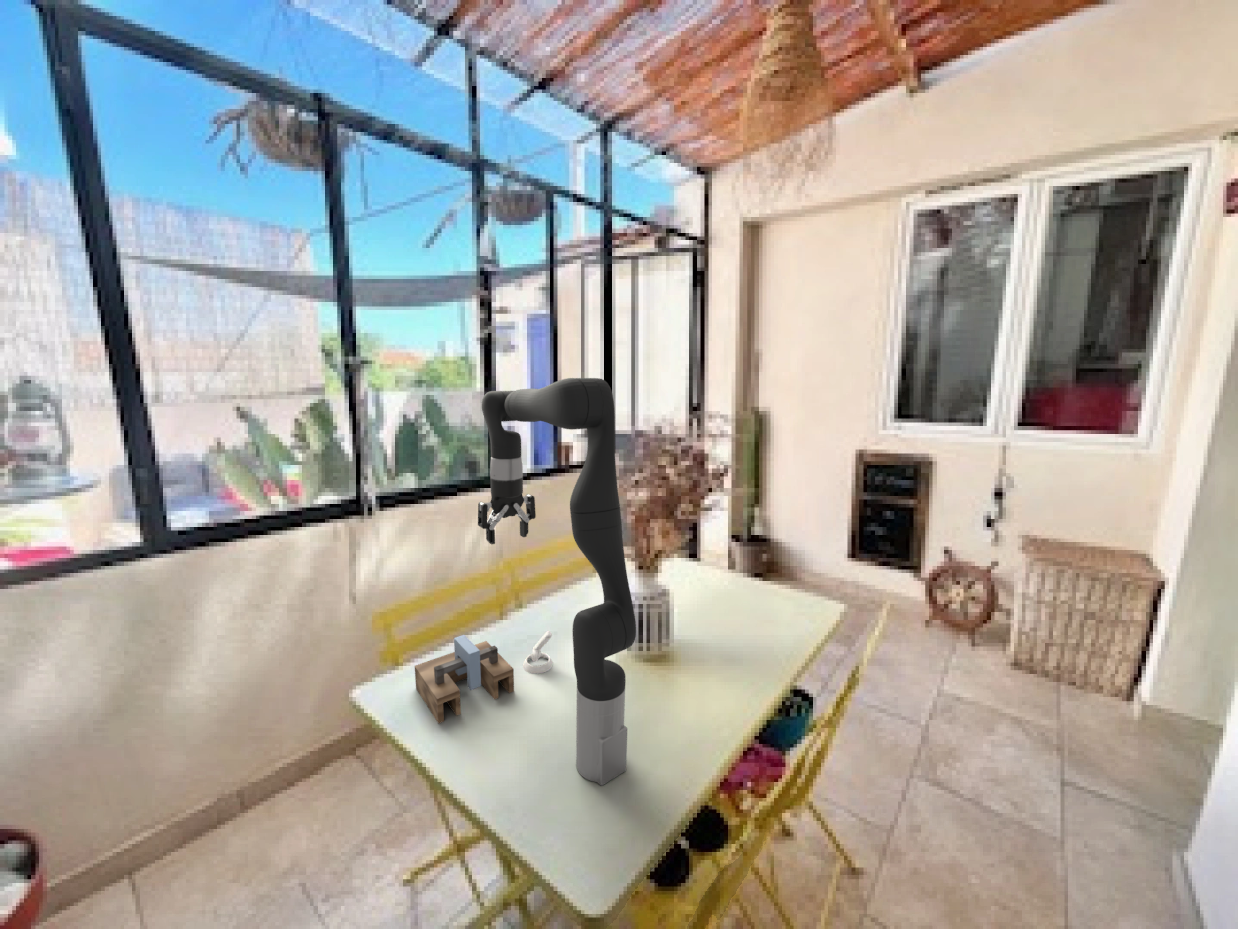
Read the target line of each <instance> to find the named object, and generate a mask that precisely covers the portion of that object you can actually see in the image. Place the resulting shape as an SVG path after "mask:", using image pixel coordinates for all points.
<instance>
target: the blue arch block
mask: <svg viewBox="0 0 1238 929" xmlns="http://www.w3.org/2000/svg"><path fill="white" fill-rule="evenodd" d="M475 645H476V644H475V643H473V641H471V640H470V639H469V638H468V637H467V636H466V635H465V634H462V635H460V636H456V637H453V647H454V649H453V650H454V652H455V659H458V658H461V659H462V660H463V661H464V663H465V664H466V665H467V666H465V667H462V668H460V669H457V670H455V671H456V674H457V675H458V676H459V675H461V674H464V673H466V672H467V678H466V679H467V681H466V682H467V688H468V689H469V690H470V691H472V690H475V689H477V688H480V687H481V686H482V684H481V671H480V650H479V649H478V648H477V647H476V646H475Z"/></svg>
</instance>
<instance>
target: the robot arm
mask: <svg viewBox="0 0 1238 929" xmlns="http://www.w3.org/2000/svg"><path fill="white" fill-rule="evenodd" d="M615 410H616V409H615V402H614V395H613V391H612V389H611V387H610V385H609V383H608V382H607V381H606V380H605V379H603V378H597V377H568V378H563V379H561V380H558V381H554V382H552V383H550V384H549V385H545V386H543V387H541V388H522V389H516V390H491V391H488V392H486V393H485V394H484V395H483V398H482V400H481V412H482V414H483V418H484V420H485V423H486V424H485V425H486V427H487V431H488V435H489V439H490V456H491V457H490V466H489V467H490V468H489V470H490V471H489V476H490V496H491V499H490V501H488V502H483V501H479V502H478V506H477V526H478V527H480V528H482V529H483V530H485V535H486V536H485V537H486V538H485V539H486V542H488V543H489V545H490V544H491V545H495V544H496V533H495V532H496V529H495V528H496V526H497V524H498V523H499V522H501V520H502V518H503V519H507V518H509V517H515V516H517V517H518V518H519V519H520V521H519V535H520V537H522V538H526V537H527V536H528V535H529V522H530V521H531V520H534V519H536V517H537V515H536V499H535V496H534V495H533V494H529V493H526V495H524V496H523V494H524V470H523V468H524V466H523V458H522V436H521V435H520V433H519V432H517V431H513V430H507V429H505V428H504V427H503V424H502V422H523V423H524V422H526V423H535V422H536V423H537V422H544V423H545V424H549V425H552V426H555V427H558V428H560V429H564V430H565V429H566V430H571V431H572V430H573V431H574V430H583V429H584V430H586V435H587V447H586V448H587V451H586V457H585V461H584V464H583V466H582V469H581V470H580V474H579V476H578V478H577V480H576V482H575V485H574V487H573V488H572V489H573V490H572V493H571V496H570V500H569V511H570V512H569V513H570V522H571V531H572V537H573V539H574V542H575V544H576V545H577V547H578V548H579V550H580V552H581V553H582V554H583V555H584V556H585V558H586V559H587V560H588V562H589V563H590V565H592V567H593V569H594V570H595V571H596V573H597V575H598V577H599V580H600V584H601V587H602V593H603V603H600V604H597V605H594V606H591V607H588V608H586V609H581V610H579V611H578V612H577V613H576V615H575V616H574V617H573V622H572V645H573V646H572V650H573V668H574V674H575V678H576V721H575V722H576V725H575V727H576V730H575V731H576V733H575V734H576V735H575V736H576V738H575V740H576V741H575V743H576V746H575V747H576V748H575V749H576V750H575V751H576V752H575V753H576V756H575V758H576V760H575V761H576V762H575V763H576V764H575V766H576V770H577V771H578V773H579V774H580V775H581V776H582V778H584V779H585V780H588V781H591V782H595V783H598V785H600V786H604V785H605V784H607V783H608V782H609V783H610V781H612V780H613V779H615V778H616V777H618V776H620V775H621V774H623V773H624V772H626V770H627V757H628V756H627V753H628V727H626V726H625V710H626V709H625V707H626V704H625V703H626V702H625V701H626V681H627V679H626V673H625V670H624V668H623V667H622V666H621V665H620V664H618V663H617V662H614V661H612V660H609V659H606V658H609V657H611V656H614V655H615V654H618V653H620V652H623V651H625V650H627V649H629V648H630V647H632V646H633V645H634V644H635V641H636V637H637V622H636V616H635V610H634V605H633V601H632V595H631V590H630V584H629V579H628V573H627V566H626V559H625V549H624V539H623V524H622V514H621V503H620V497H619V492H618V491H619V490H618V489H619V488H618V480H617V477H618V476H617V466H616V465H617V463H616V436H615V435H616V433H615V432H616V425H615V424H616V420H615V419H616V417H615V415H616V414H615V413H616V412H615ZM524 504H525V510H526V511H524V510H523V509H522V507H523V505H524ZM490 509H492V510H491V512H490ZM488 512H490V514H489V515H488ZM525 512H526V513H525Z"/></svg>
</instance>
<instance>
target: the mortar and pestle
mask: <svg viewBox="0 0 1238 929" xmlns="http://www.w3.org/2000/svg"><path fill="white" fill-rule="evenodd" d="M552 636H553V633H552V631H550V630H547V631H545V633H544V634H543V635H542V636H541V637H540V639H538V641H537V642H536V644H534V646H533V647H532V653H530V654H528V655H527V656H526V658H525V659H524V661H523V664H522V668H523V670H524V671H525V672H527V673H529V674H538V675H539V674H543V673H546V672H548V671H549V670H551V669H552V667H553V663H554V662H553V660H552V658H551V656H550V655H549V654H548V653H546V652H542V651H541V650H542V649H543V647H544V646H546V645H547V643H548V642H549V641H550V639H551V638H552ZM540 658H544V659H548V660H547V662H546V663H544V664H541V665H532V664H530V663H529V662H528V661H529V660H531V661H532V662H538V661H539V659H540Z"/></svg>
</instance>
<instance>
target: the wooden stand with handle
mask: <svg viewBox="0 0 1238 929" xmlns="http://www.w3.org/2000/svg"><path fill="white" fill-rule="evenodd" d="M474 645H475V646H476V647H477V648H478V649H479V650H480V671H481V686H483V688H484V689H485V690H486V692H487V693H488V694H489V695H490V696H491V697H492V699H493V700H497V699H499V684H500V685H501V686H502V687H503V688H504V689H505V690H506V691H507V692H508V694H511V693H514V692H515V676H514V675H515V674H514V667H512V665H511V664H510V663H508V661H506V659H504V657H502V655H501V654H500V653H499V652H498V650H499V649H498V647H497V646H496V645H491V644H490V643H489V642H488V641H487V640H485V641H482V642H479V643H476V644H474ZM465 666H467V665H466V664H465V663H464V661H463V660H462V659H461V658H458V659H455V651H453V652H450V653H447V654H445V655H441V656H439V657H436V658H433V659H430V660H426V661H424V662H422V663H418V664H416V665H414V678H415V679H414V680H415V689H416V691H417V693H418V694H419V696H420V697H421V699H422V700H423V701H424V703H425V705H426V707H427V708H428V710H429V711H430V713H431V714H432V716H433V718H434V719H435V721H436V722H437V723H438V725H439V724H441V723H443V722H445V717H444V716H445V714H444V703H447V704H448V705H449V707H450V709H451V710H452V711H453V713H454V714H455V716H460V715H462V707H461V689H459V686H457V684H456V683H458V682H461V681H464V680H466V679H467V672H466V673H464V674H461V675H459V676H458V675H457V674H456V671H455V670H457V669H460V668H462V667H465Z"/></svg>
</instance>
